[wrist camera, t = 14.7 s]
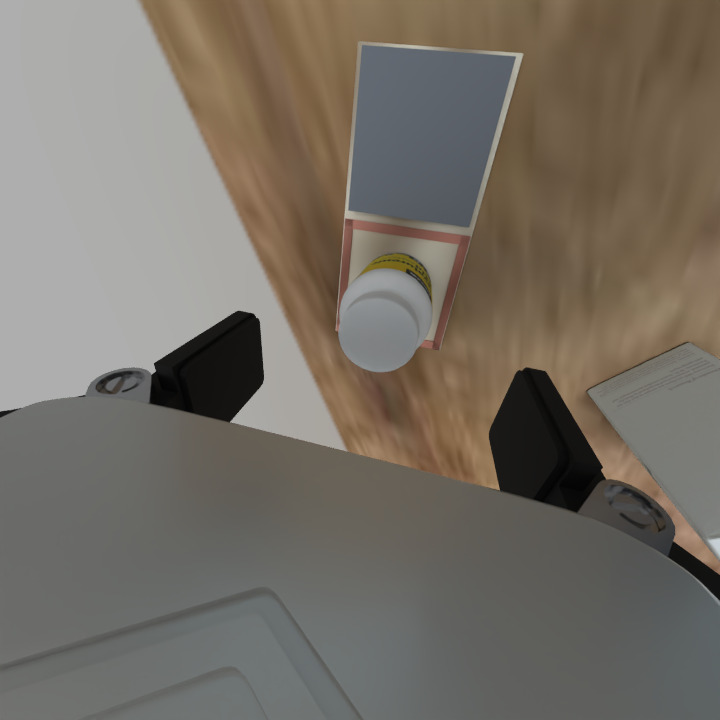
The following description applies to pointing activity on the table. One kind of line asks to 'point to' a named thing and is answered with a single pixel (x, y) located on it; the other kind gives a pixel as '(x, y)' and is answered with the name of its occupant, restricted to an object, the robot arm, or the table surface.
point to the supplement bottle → (386, 312)
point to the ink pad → (425, 131)
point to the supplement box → (673, 429)
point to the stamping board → (415, 226)
